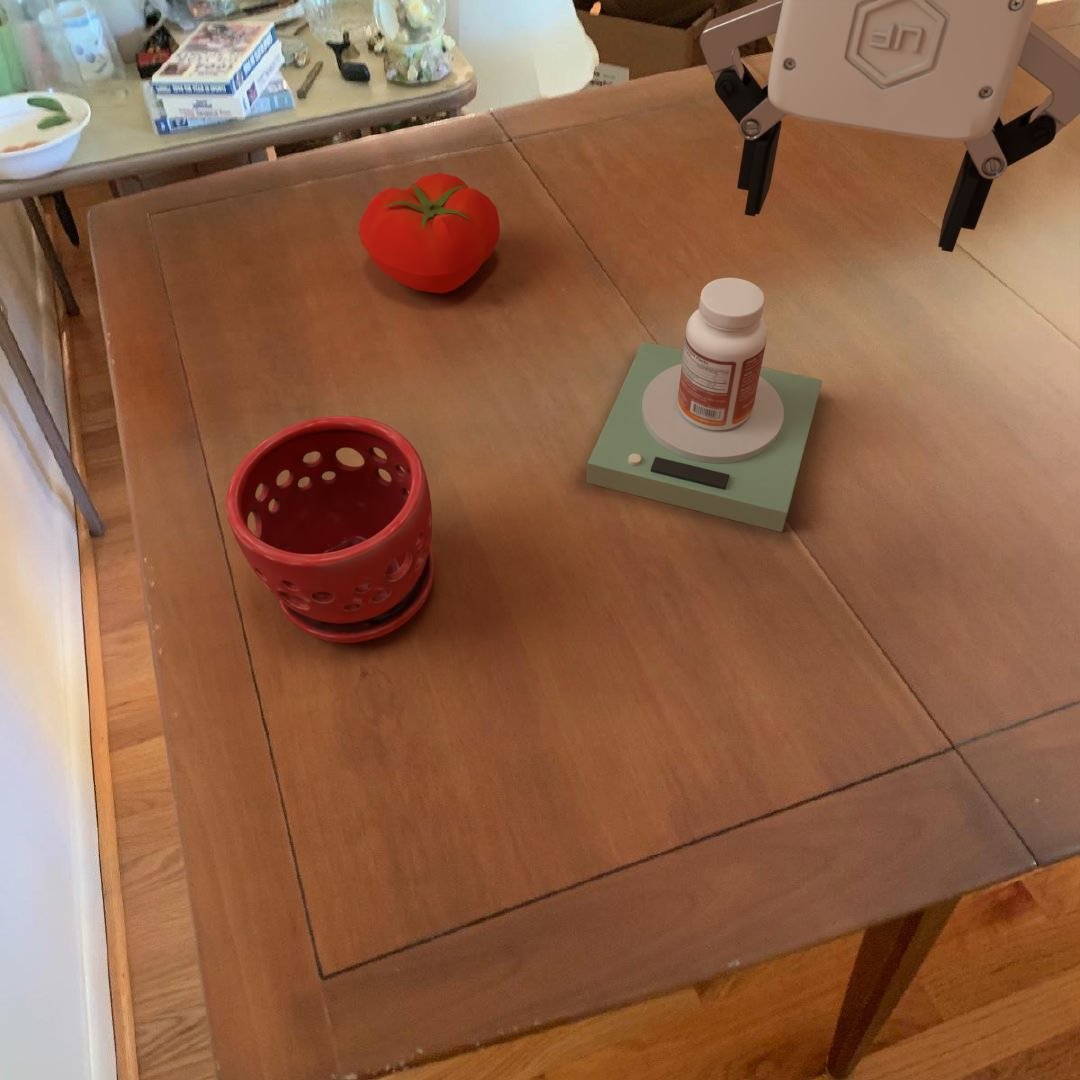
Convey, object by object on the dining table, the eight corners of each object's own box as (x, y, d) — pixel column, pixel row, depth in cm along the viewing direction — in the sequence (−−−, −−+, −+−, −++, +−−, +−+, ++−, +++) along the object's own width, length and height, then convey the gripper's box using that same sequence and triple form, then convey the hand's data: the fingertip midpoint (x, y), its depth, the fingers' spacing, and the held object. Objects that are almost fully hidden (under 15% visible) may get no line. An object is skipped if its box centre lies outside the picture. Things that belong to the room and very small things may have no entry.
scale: (816, 400, 85) (824, 372, 83) (782, 533, 76) (789, 505, 73) (640, 361, 89) (643, 333, 86) (586, 483, 79) (587, 455, 77)
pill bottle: (735, 376, 83) (756, 264, 74) (763, 425, 79) (789, 313, 70) (666, 389, 82) (679, 277, 73) (691, 439, 78) (708, 328, 69)
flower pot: (320, 505, 78) (289, 392, 69) (470, 550, 75) (458, 439, 66) (230, 631, 70) (182, 524, 61) (393, 688, 67) (367, 584, 58)
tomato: (372, 323, 93) (358, 243, 86) (361, 248, 101) (348, 169, 94) (515, 304, 94) (512, 224, 88) (493, 231, 102) (489, 153, 95)
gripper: (706, -178, 36) (666, 227, 50) (1214, -132, 32) (1024, 295, 46) (749, -229, 41) (702, 155, 54) (1200, -195, 37) (1031, 210, 50)
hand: (850, 218), depth 50 cm, fingers open, 9 cm apart
